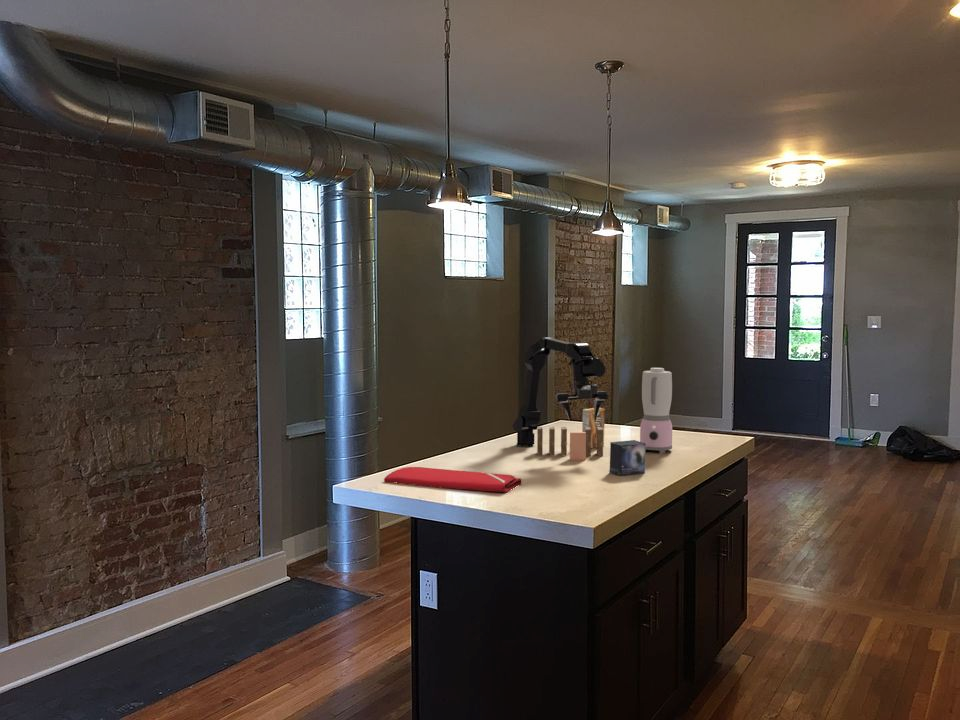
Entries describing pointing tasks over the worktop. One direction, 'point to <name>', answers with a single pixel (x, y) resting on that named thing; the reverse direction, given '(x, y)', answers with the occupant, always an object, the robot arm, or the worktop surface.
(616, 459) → the small box
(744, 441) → the worktop surface
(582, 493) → the worktop surface
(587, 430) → the domino
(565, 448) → the domino
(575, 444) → the domino
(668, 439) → the blender
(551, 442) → the domino
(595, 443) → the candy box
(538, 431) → the domino
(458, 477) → the dish drying mat
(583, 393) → the robot arm
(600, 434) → the domino
